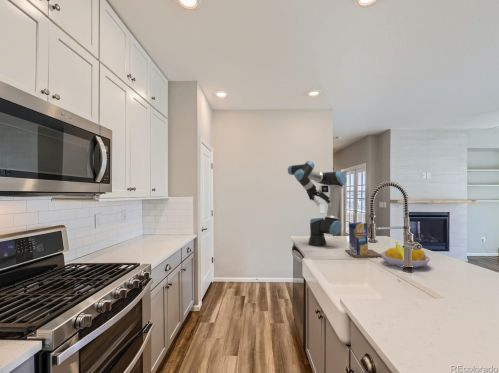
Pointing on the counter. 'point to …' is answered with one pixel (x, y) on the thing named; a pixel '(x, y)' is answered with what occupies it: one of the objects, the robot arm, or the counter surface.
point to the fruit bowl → (397, 256)
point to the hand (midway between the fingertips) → (324, 205)
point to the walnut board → (370, 254)
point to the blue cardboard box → (358, 238)
